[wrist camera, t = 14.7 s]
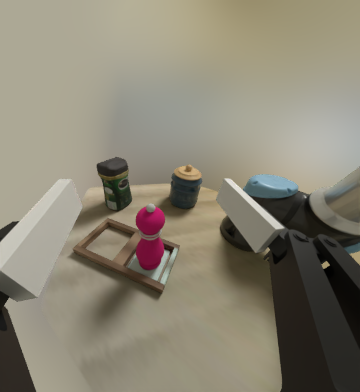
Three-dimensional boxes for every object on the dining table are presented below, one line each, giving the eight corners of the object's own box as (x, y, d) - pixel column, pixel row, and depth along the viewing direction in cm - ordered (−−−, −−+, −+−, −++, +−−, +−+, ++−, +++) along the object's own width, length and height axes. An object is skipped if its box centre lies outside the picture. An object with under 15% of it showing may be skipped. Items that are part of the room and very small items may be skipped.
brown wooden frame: (108, 222, 45) (107, 218, 44) (178, 249, 41) (179, 245, 40) (74, 252, 36) (72, 248, 34) (161, 293, 31) (162, 290, 30)
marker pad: (144, 241, 41) (144, 241, 41) (170, 251, 40) (170, 251, 39) (127, 267, 34) (127, 267, 34) (157, 281, 33) (157, 280, 33)
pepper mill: (132, 256, 37) (124, 201, 25) (154, 243, 41) (155, 190, 29) (145, 278, 33) (143, 224, 21) (168, 261, 37) (177, 208, 25)
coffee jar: (120, 194, 59) (114, 153, 48) (135, 200, 57) (131, 159, 46) (102, 206, 51) (89, 161, 40) (118, 213, 49) (109, 168, 38)
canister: (177, 189, 69) (182, 156, 58) (200, 198, 65) (209, 165, 54) (163, 201, 59) (166, 164, 49) (189, 213, 55) (198, 175, 45)
